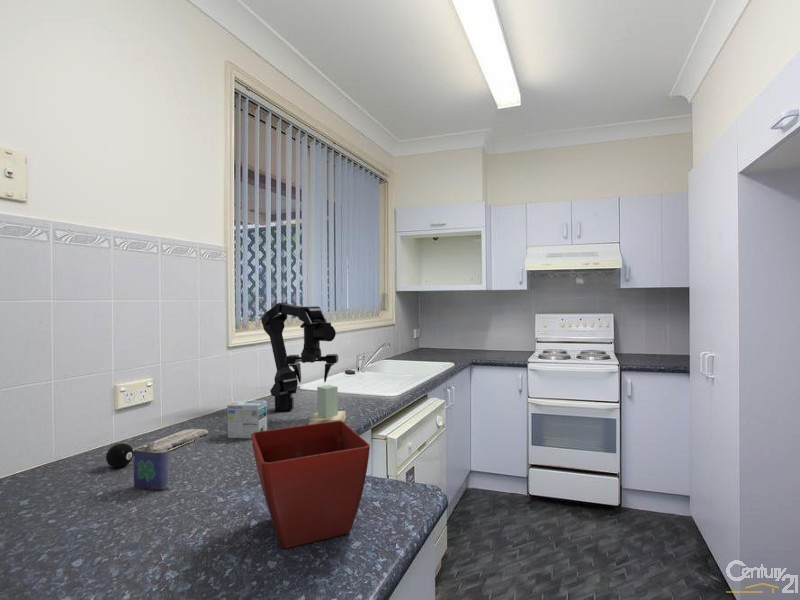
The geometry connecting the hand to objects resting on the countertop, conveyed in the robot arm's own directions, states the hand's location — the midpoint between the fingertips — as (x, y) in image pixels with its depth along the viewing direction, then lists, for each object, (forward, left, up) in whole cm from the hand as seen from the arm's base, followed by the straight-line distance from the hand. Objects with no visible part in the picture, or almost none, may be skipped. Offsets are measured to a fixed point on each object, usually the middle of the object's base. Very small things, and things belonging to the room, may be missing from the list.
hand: (312, 382), depth 165 cm
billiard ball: (-42, -47, -13) cm, 64 cm away
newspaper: (-38, -28, -14) cm, 49 cm away
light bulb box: (-17, -21, -13) cm, 30 cm away
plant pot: (+15, -80, -13) cm, 82 cm away
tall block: (+7, -9, -10) cm, 15 cm away
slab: (+7, -9, -13) cm, 17 cm away
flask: (-26, -61, -13) cm, 68 cm away
